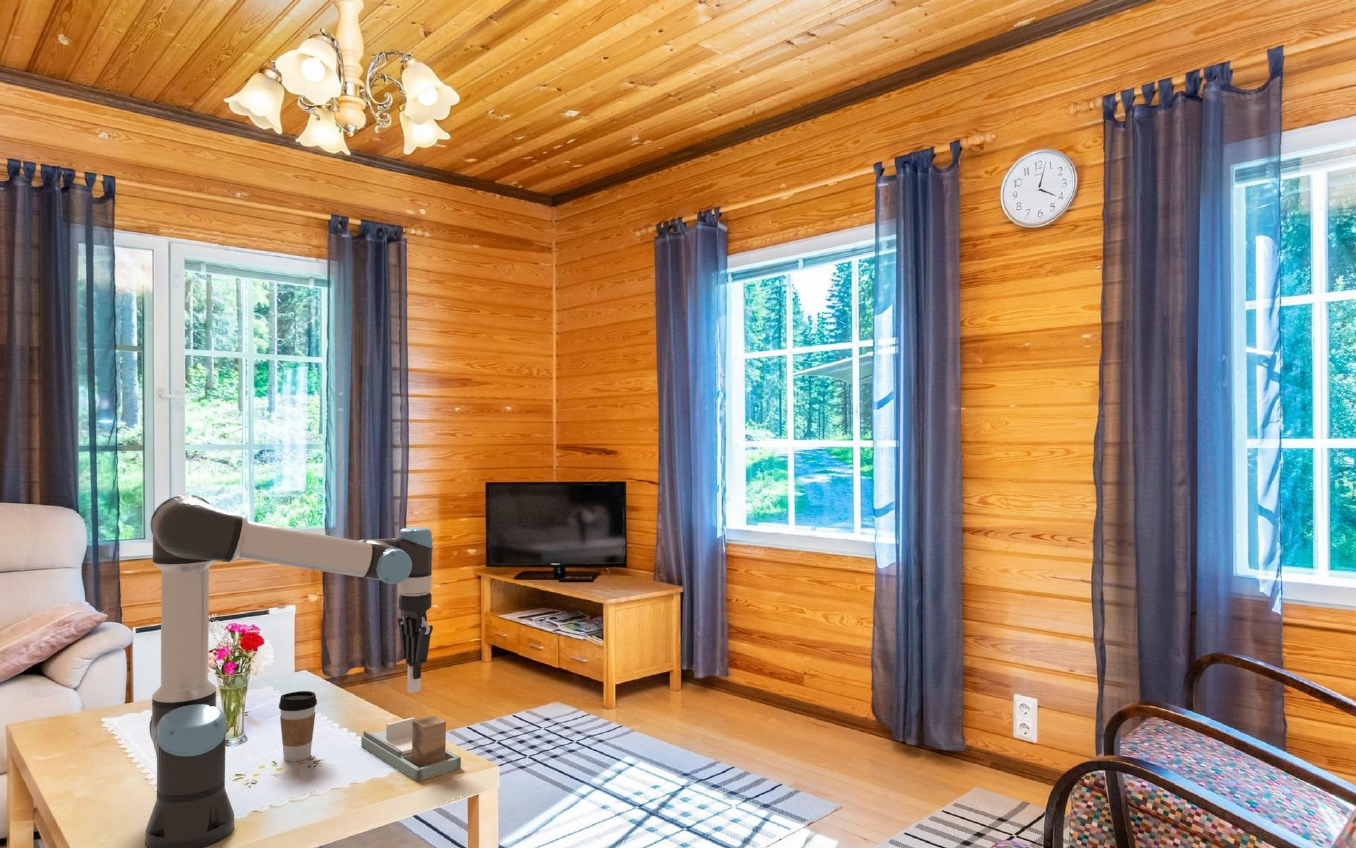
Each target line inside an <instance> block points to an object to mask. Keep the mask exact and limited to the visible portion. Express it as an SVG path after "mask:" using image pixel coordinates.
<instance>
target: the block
mask: <svg viewBox="0 0 1356 848" xmlns="http://www.w3.org/2000/svg"><path fill="white" fill-rule="evenodd" d="M446 732H447V721H445V720H443V719H441V718H440V717H437V716H436V715H431V716H428V717H423V718H419V719H417V720H416V719H415V721H413V723H412V764H413V765H415V766H417V767H418V768H421V767H425V766H428V765H431V764H435V763H438V762H441V761H445V749H446V746H447V745H446V743H447V742H446V736H447V735H446V734H447V733H446Z"/></svg>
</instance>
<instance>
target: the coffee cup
mask: <svg viewBox="0 0 1356 848" xmlns="http://www.w3.org/2000/svg"><path fill="white" fill-rule="evenodd" d="M279 700H280V701H279V704H278V709H279V710H280V716H279V718H280V719H279V720H280V730H281V740H282V741H281V742H282V753H283V760H284V761H287V762H300V761H304V760H306V759H309V758H310V757H311V755H312V745H313V744H312V743H313V737H314V728H315V717H316V711H315V709H316V706H317V705H318V700H317V697H316V693H315V692H313V691H310V690H309V691H308V690H302V691H301V690H300V691H294V692H287V693H284V694H281V695H280V699H279Z"/></svg>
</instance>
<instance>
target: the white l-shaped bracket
mask: <svg viewBox="0 0 1356 848" xmlns="http://www.w3.org/2000/svg"><path fill="white" fill-rule="evenodd" d="M415 720H416V717H415V716H413V717H409V718H404V719H401V720H396V721H393V722H388V723H386V729H385V730H386V741H384V742H386V743H388V744H389V745H391V746H393V747H394V748H396V749H398V750H399V751H401V755H404V754H408V753H411V752H412V723H413V721H415Z"/></svg>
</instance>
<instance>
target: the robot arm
mask: <svg viewBox="0 0 1356 848" xmlns="http://www.w3.org/2000/svg"><path fill="white" fill-rule="evenodd" d="M150 531H151V534H152V564H153V565H154V566H155V567H156V568H157V569H159V570H160V571H161V572H160V573H161V575H160V576H161V579H160V580H161V585H160V589H161V593H160V599H161V600H160V601H161V602H160V603H161V605H160V607H161V608H160V609H161V610H160V686H159V687H158V689H156V690H155V691H154V693H152V695H151V716H150V721H149V724H148V725H149V735H150V739H151V740H152V743H153V747H154V752H155V756H156V798H155V803H154V806H153V808H152V812H151V814H150V817H149V818H148V819H149V820H148V823H147V826H146V828H145V838H144V840H145V841H144V843H145V846H146V847H147V848H204V847H207V846H209V845H211V844H214V843H217V842H219V841H220V840H222V839H224V838H226V837H227V836H229V835H230V834H231V832H232V831H233V830H234V827H235V812H234V808H233V807H232V804H231V801H230V799H229V796H228V793H227V791H226V734H227V731H228V724H227V722H226V715H225V713H224V712H223V710H221V709H220V708H219V707H217V686H216V685H215V684H214V683H212V682H211V681H210V680H209V625H210V624H209V623H210V622H209V618H210V617H209V615H210V614H209V610H210V609H209V607H210V606H209V604H210V603H209V602H210V601H209V600H210V598H209V597H210V596H209V594H210V593H209V592H210V591H209V590H210V585H209V584H210V582H209V581H210V576H209V575H210V567H211V566H212V565H213V564H214V563H215V562H224V563H232V562H234V561H236V560H245V561H253V562H260V563H266V564H272V565H279V566H286V567H293V568H299V569H305V570H311V571H320V572H326V573H332V574H340V575H345V576H352V577H357V578H358V577H359V578H364V579H370V580H377V581H381V582H382V583H384V584H389V585H398V592H399V595H398V609H399V611H402V612H403V613H402V615H403V616H402V617H399V618H397V624H398V627H399V635H400V636H399V637H400V639H399V640H400V647H401V648H400V649H401V658H402V659H403V660H405V663H406V664H407V672H406V673H407V675H406V676H407V679H406V680H407V682H406V683H407V684H406V685H407V686H406V691H407V693H409V694H412V693H417V692H421V690H422V664H426V663H427V661H428V657H429V648H430V643H431V635H432V632H433V630H434V626H433V625H432V624H431V625H429V623H428V622H427V621H428V616H427V611H429V610H430V609H431V608H432V603H433V602H432V600H433V599H432V597H433V596H432V592H431V591H432V583H433V577H432V573H433V572H432V570H433V569H432V567H433V548H434V545H433V533H432V530H431V529H430V528H429V527H421V526H420V527H418V526H416V527H413V526H411V527H403V528H401V529H400V531H399V535H398V536H397V537H392V538H376V539H360V540H357V539H356V540H355V539H349V538H344V537H338V536H332V535H327V534H321V533H315V532H312V531H311V532H310V531H304V530H299V529H294V528H287V527H283V526H277V525H270V524H267V523H266V524H265V523H259V522H254V521H249V520H247V518H246V517H245V515H244V514H238V513H233V512H228V511H227V510H223V509H221V508H217V507H215V506H214V505H211V503H210V502H208V501H207V499H205V498H203V497H200V496H197V495H193V494H192V495H190V494H182V495H181V494H179V495H176V496H173V497H170V498H168V499H166V500H164V501H163V502H161V503H160V504H159V505H158V506H157V507H156V508H155V510H154V512H153V513H152V516H151V518H150Z"/></svg>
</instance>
